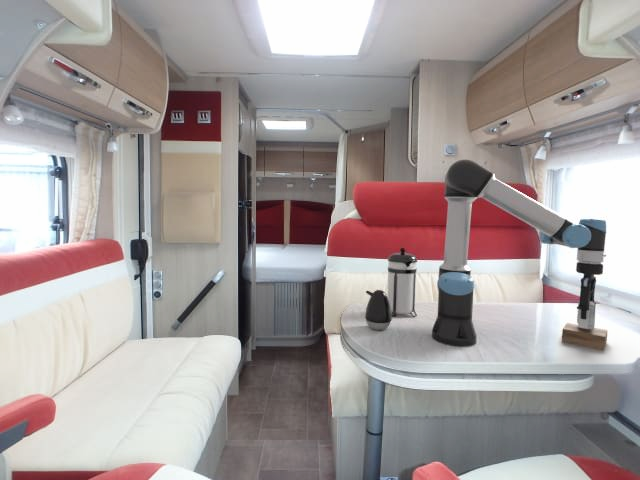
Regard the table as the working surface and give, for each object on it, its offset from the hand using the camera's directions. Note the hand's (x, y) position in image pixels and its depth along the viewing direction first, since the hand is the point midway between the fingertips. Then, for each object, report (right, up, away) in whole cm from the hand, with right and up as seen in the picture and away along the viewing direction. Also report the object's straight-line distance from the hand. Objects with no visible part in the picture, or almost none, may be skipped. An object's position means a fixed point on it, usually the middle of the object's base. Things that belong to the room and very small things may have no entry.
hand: (585, 325), depth 127 cm
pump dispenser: (-72, -4, +12) cm, 73 cm away
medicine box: (0, -1, 0) cm, 1 cm away
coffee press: (-59, -3, +34) cm, 68 cm away
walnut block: (0, -7, 0) cm, 7 cm away
